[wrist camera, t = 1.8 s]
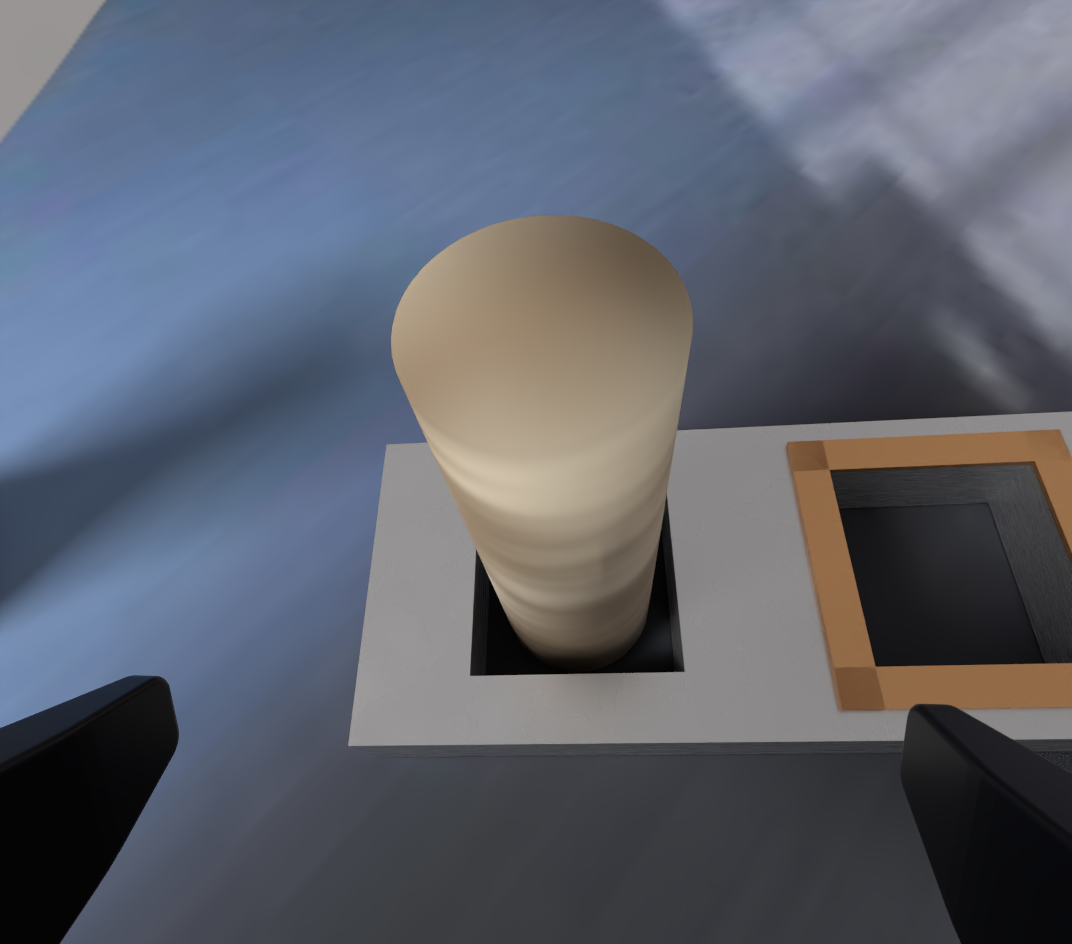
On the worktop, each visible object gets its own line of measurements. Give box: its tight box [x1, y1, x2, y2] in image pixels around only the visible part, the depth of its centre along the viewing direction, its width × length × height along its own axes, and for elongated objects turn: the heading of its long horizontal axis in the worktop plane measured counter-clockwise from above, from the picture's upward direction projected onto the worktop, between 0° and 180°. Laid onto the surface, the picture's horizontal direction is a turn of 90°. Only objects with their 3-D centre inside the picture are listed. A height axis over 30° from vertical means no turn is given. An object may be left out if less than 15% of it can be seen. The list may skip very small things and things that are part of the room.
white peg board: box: [348, 412, 1072, 757], centre depth 20 cm, size 22×9×3 cm, turn 90°
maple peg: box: [391, 215, 693, 672], centre depth 16 cm, size 4×4×13 cm
